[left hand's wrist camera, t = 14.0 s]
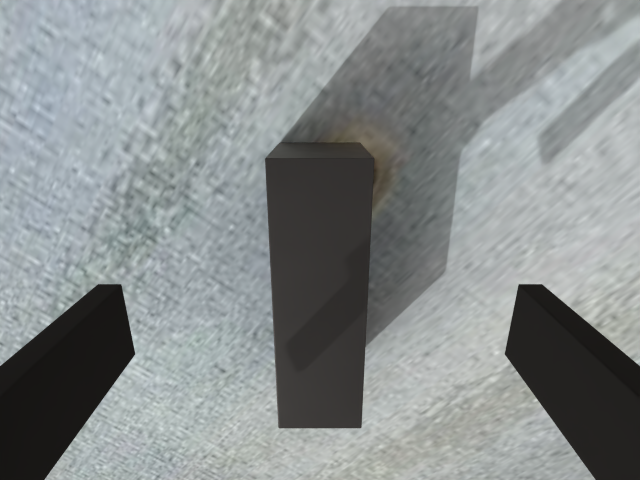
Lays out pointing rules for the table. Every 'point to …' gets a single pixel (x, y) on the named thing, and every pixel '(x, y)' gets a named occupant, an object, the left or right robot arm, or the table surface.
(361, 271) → the box
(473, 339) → the table surface
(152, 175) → the table surface
